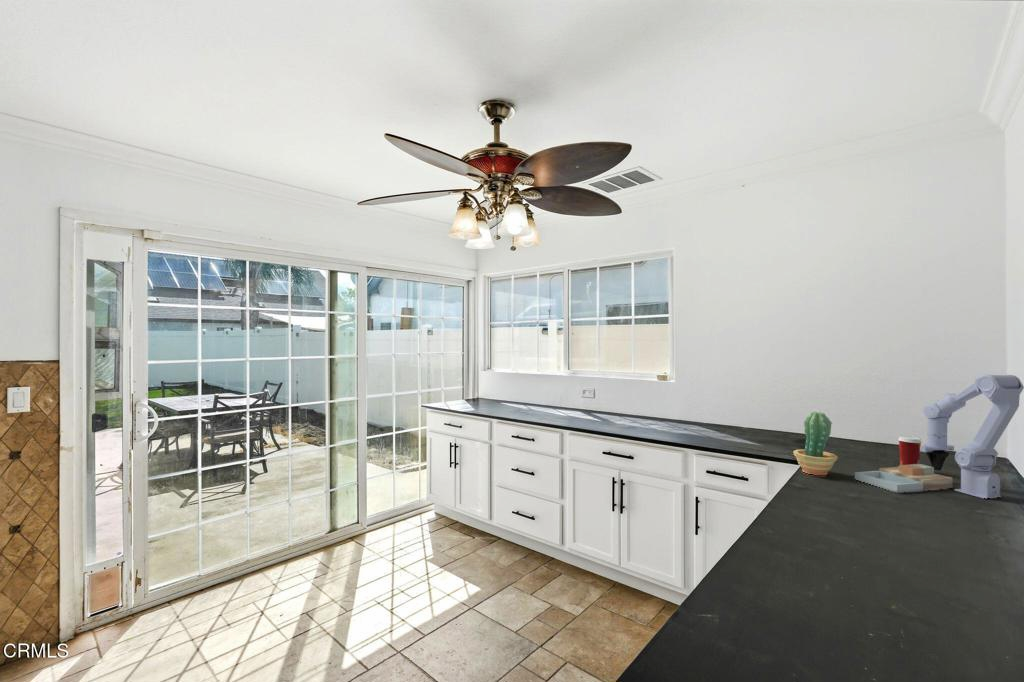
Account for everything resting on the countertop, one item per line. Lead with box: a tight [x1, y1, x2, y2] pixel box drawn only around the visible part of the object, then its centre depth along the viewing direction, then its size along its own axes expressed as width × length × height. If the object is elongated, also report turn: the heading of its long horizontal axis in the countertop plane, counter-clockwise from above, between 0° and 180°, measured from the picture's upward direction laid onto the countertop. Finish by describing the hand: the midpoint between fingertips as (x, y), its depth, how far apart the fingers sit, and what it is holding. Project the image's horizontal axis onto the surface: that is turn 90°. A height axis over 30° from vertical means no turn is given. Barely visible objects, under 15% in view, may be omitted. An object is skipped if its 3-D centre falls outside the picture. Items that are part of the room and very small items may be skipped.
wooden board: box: [878, 466, 953, 492], centre depth 179 cm, size 16×14×4 cm
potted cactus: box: [792, 411, 839, 475], centre depth 191 cm, size 15×15×25 cm
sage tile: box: [910, 463, 935, 475], centre depth 179 cm, size 5×5×2 cm
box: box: [854, 470, 924, 494], centre depth 176 cm, size 16×12×3 cm
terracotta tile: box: [898, 464, 923, 475], centre depth 178 cm, size 5×5×2 cm
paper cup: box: [897, 435, 923, 465], centre depth 196 cm, size 8×8×14 cm
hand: (936, 469), depth 181 cm, fingers closed
